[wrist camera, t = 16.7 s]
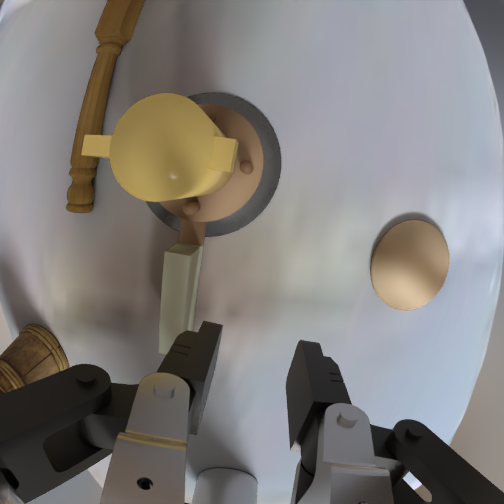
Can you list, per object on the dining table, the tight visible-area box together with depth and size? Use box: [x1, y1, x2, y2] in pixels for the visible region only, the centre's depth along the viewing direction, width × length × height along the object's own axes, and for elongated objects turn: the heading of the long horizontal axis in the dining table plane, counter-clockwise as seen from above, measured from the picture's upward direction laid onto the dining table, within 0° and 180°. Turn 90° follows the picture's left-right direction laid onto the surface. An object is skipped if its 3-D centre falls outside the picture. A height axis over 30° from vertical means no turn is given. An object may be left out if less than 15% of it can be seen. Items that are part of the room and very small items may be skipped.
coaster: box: [371, 220, 449, 311], centre depth 25 cm, size 9×9×1 cm
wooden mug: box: [0, 324, 69, 395], centre depth 22 cm, size 9×14×18 cm, turn 178°
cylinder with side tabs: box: [81, 93, 238, 202], centre depth 18 cm, size 11×6×10 cm, turn 80°
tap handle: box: [66, 0, 145, 213], centre depth 22 cm, size 3×3×30 cm
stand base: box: [146, 93, 281, 237], centre depth 25 cm, size 13×13×1 cm
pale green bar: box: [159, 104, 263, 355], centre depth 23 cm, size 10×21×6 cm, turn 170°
